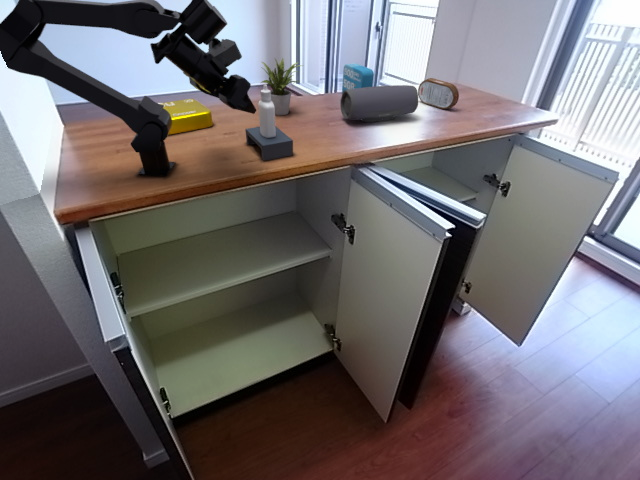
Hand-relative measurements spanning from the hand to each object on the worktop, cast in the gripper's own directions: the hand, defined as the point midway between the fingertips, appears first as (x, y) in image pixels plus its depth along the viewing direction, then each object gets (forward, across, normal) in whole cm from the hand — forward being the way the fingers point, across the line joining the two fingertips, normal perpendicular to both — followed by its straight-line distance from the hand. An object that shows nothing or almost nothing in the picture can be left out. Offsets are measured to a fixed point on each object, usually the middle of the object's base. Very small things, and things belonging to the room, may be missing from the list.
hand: (244, 106), depth 87 cm
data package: (+45, +15, -28) cm, 55 cm away
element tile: (+5, +30, +12) cm, 33 cm away
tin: (+60, -3, -44) cm, 75 cm away
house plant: (+26, +20, -9) cm, 34 cm away
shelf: (+13, 0, +4) cm, 13 cm away
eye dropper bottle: (+10, 0, +2) cm, 10 cm away
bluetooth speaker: (+41, 0, -24) cm, 48 cm away
